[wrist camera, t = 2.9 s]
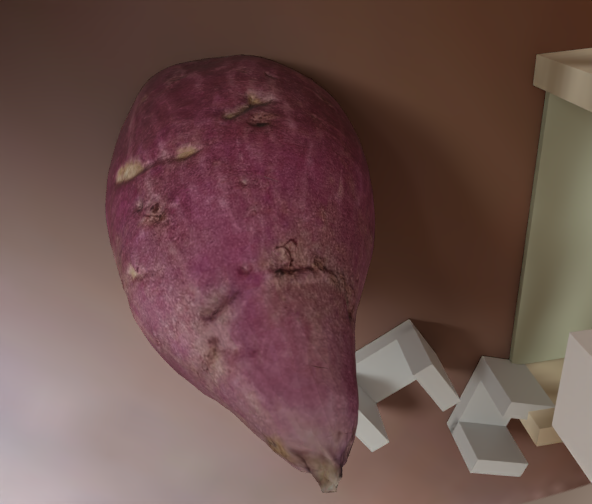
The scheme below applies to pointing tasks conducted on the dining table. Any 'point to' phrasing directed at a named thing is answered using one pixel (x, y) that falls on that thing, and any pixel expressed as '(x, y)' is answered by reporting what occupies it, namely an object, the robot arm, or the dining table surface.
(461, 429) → the clip
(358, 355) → the clip
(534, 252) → the tray
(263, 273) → the vegetable
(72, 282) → the dining table surface
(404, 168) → the dining table surface
